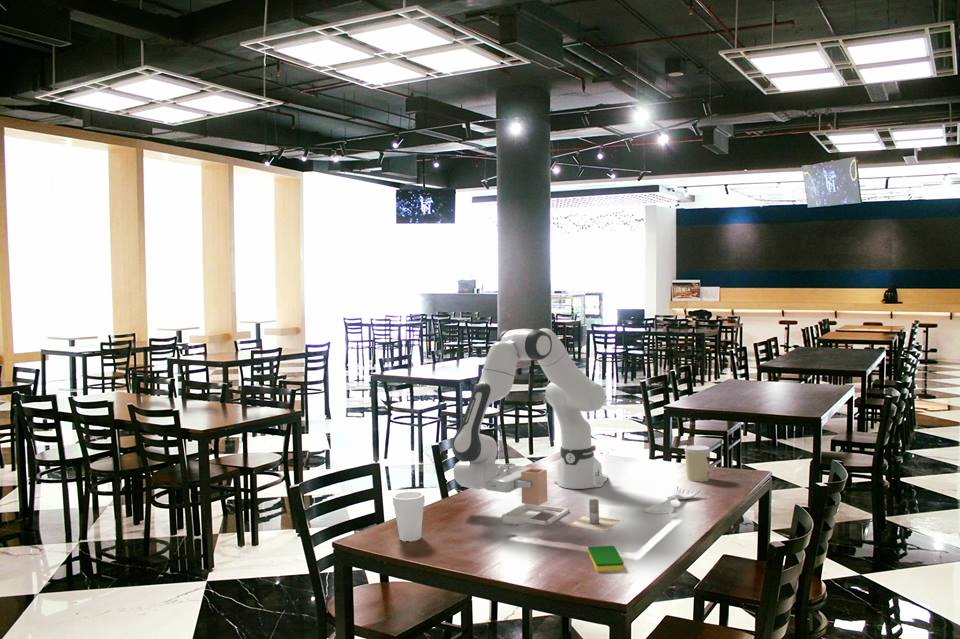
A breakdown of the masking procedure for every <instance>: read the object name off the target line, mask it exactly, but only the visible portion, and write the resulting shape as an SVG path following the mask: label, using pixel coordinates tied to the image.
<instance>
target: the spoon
mask: <svg viewBox="0 0 960 639" xmlns="http://www.w3.org/2000/svg"><path fill="white" fill-rule="evenodd" d="M701 492H702V488H699V489H695V490H694V489H692V490H691V491H690V490H689V489H687V490H686V491H685V488H683V489H682V487H679V485H677V486H676V488H675V489H674V493H673V495H670V496H667V499H666V500H665V501H663V502H661V503H658V504H657V503H656V504H654V505H651V506H648V507H646V508H643V512H644V513H646V514H648V515H649V514H650V515H667V514H670V513H672V514H673V512H674V511H675V508H674V506H673V504H672V502H671V501H675V500H677V499H678V500H688V499H689V500H690V499H691V498H693V497H695V496H696V495H698V494H700V493H701Z"/></svg>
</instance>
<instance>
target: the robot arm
mask: <svg viewBox="0 0 960 639" xmlns="http://www.w3.org/2000/svg"><path fill="white" fill-rule="evenodd" d="M520 361H537V363H538V364H539V366H540V368H541V369H542V371H543V373H544V375H545V377H546V378H547V379H548V380H549V381H550V382H549V383H548V384H547V386H546V387H545V388H546V389H545V393H544V394H545V400H546V402H547V403H548V404H549V405H550V406H551V408H552V409H553V411H554V412H555V415H556V418H557V420H558V423H559V428H560V440H561V446H560V459H558V461H557V474H556V475H557V476H556V477H557V478H555V479H554V482H553V483H556V484H557V485H558V486H559V487H562V488H563V489H565V488H566V489H570V490H571V489H572V490H575V489H576V490H580V489H582V490H583V489H591V488H602V487H603V486H604V485H605V483H606V482H607V480H608V479H609V475H607V474H603V470H602V463H601V462H600V461H599V460H598V459H597V458H596V457H595V453H594V451H596V450H597V447H596V445H592V428H591V425H590V424H589V423H590V422H588V421H587V420H586V419H585V417H584V416H583V415H582V412H594V411H599V410H601V409H602V408H603V407H604V405H605V403H606V398H607V397H606V391H605V389H604V387H603V386H602V385H600V384H599V383H597V382H595V381H593V380H592V379H591V378H590V377H589V376H587V375H586V374H585V372H583V371H582V370H581V369H580V368H579V367H578V365H576V364H575V362H574V361H573V359H572V357H571V356H570V354H569V352H568V351H567V349H566V347H565V345H564V343H563V342H562V341H561V339H560V338H559V337H558V336H557V334H556V333H555V332H554V331H553V330H551V329H549V328H544V327H543V328H540V329H532V328H517V329H513V328H508V329H505V330H503V331H502V332H500V333H499V335H497V338H496V340H495V342H494V343H493V344H492V345H491V346H490V348H489V350H488V353H487V355H486V358H485V360H484V364H483V368H482V372H481V375H480V379H479V381H478V383H477V385H476V386H475V387H474V389H473V391H472V393H471V396H470V399H469V401H468V404H467V407H466V409H465V413H464V416H463V419H462V422H461V424H460V427H459V429H458V430H457V432H456V433H455V435H454V436H453V439H452V442H451V449H452V454H453V455H454V457H455V458H456V459H458V460H459V461H457V462H456V463H455V464H454V467H453V476H454V479H455V482H456V483H457V484H458V485H459V486H461V487H465V488H468V489H474V490H481V489H484V490H487V491H489V492H491V491H492V492H497V493H498V492H500V493H510V492H514V491H516V490H517V489H522V488H525V487H526V488H530V487H532V481H521V472H522V471H524V470H527V469H529V468H532V467H529V466H525V465H516V463H513V462H512V463H511V462H510V463H509V462H508V463H496V462H497V458H498V457H497V455H498V453H499V452H498V451H499V450H498V449H499V448H498V447H499V446H498V443H497V441H496V440H495V439H494V437H492V436H489V435H486V434H483V433H480V429H481V427H482V423H483V420H484V418H485V415H486V411H487V409H488V408H489V406H490V405H491V404H492V403H494V402H496V401H499V400H502V399H504V398H506V397H507V396H508V395H509V394H510V392H511V390H512V387H513V385H514V380H515V375H516V370H517V364H518V363H519V362H520ZM607 478H608V479H607ZM605 481H606V482H605ZM604 482H605V483H604Z"/></svg>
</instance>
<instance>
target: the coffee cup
mask: <svg viewBox="0 0 960 639" xmlns="http://www.w3.org/2000/svg"><path fill="white" fill-rule="evenodd" d="M684 456H685V457H684V458H685V467H686V477H687V480H688V479H689V480H688V481H690V480H691V481H690V482H694V481H699V483H700V482H701V483H703V481H705V482H707V481H709V478H710V461H711V449H710V447H709V446H706V445H701V444H700V445H696V444H694V445H687V446H685V448H684Z"/></svg>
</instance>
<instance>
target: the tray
mask: <svg viewBox="0 0 960 639" xmlns="http://www.w3.org/2000/svg"><path fill="white" fill-rule="evenodd" d="M546 510H547V511H554V512H559V513H557V514H555V515H553V516H552V517H550V518H549V519H547V520H540V519H536V518H535V519H534V517H536V516H538V515H539V514H541V513H542V512H544V511H546ZM568 513H570V508H569V507H568V508H567V507H560V506H559V507H558V506H551V505H544V504H541V505H532V504H524V503H522V504H520V505H519V506H517V507H516V508H513V509H512V510H509V511H508V512H506V513H504V514H502V515H501V525H508V526H515V527H516V526H517V527H518V526H520V525H522V524H524V523H527V524H528V523H529V524H535V525H541V526H542V525H543V526H549V525H551V524H552V523H553V522H555V521H557V520H559V519H560V518H562V517H563V516H565V515H566V514H568ZM532 518H533V519H532Z"/></svg>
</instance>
